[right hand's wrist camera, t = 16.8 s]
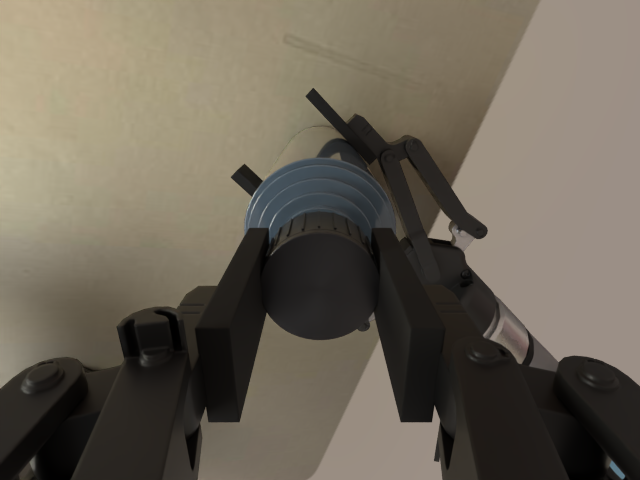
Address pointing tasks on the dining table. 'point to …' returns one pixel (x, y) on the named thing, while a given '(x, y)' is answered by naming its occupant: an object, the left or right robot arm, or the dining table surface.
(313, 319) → the cap
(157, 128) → the dining table surface
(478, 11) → the dining table surface
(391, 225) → the bottle
